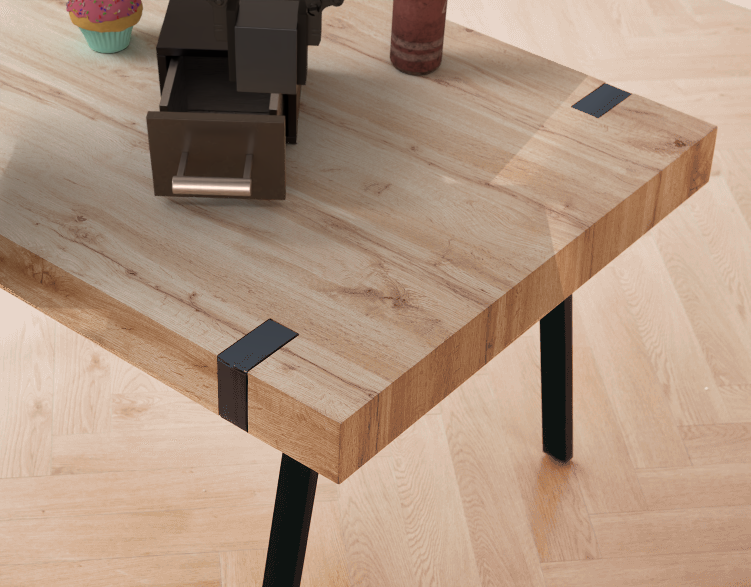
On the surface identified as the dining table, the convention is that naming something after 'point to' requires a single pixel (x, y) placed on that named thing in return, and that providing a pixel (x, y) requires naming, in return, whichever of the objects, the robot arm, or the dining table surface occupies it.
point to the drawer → (216, 135)
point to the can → (417, 35)
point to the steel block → (267, 46)
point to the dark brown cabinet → (205, 48)
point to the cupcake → (105, 22)
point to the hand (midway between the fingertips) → (268, 74)
